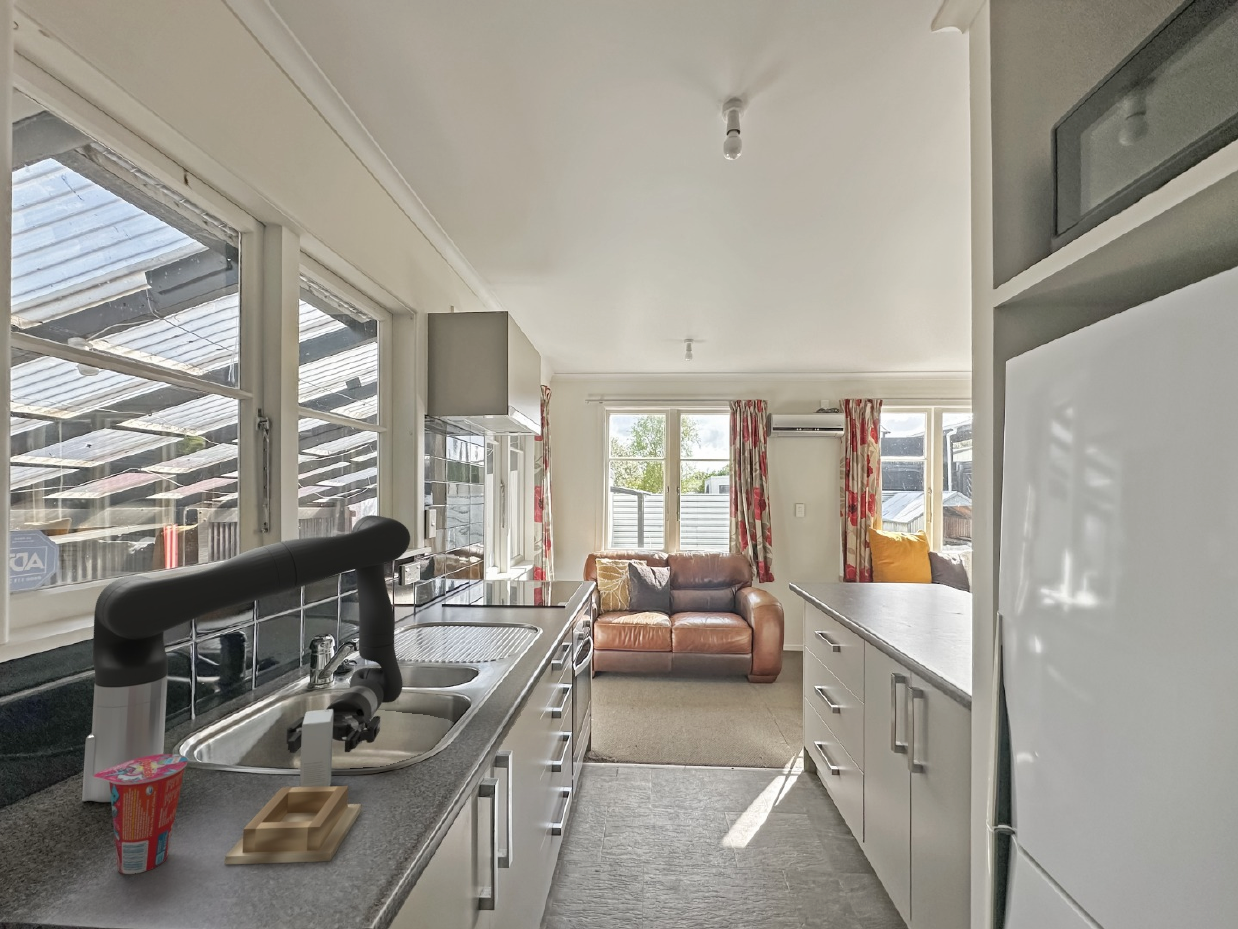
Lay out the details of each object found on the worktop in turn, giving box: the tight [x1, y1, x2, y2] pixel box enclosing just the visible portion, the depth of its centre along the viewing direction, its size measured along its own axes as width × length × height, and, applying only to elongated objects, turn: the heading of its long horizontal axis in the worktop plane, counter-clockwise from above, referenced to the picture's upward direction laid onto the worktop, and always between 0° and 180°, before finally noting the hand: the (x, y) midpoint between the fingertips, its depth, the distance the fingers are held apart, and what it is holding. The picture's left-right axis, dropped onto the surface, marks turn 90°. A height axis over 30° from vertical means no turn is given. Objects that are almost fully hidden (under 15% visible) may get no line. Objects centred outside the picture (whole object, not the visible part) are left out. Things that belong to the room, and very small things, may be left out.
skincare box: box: [299, 709, 333, 787], centre depth 101 cm, size 6×4×12 cm
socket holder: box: [224, 785, 362, 865], centre depth 88 cm, size 13×13×4 cm
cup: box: [93, 753, 189, 875], centre depth 81 cm, size 9×8×12 cm
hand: (319, 746), depth 102 cm, fingers open, 8 cm apart
